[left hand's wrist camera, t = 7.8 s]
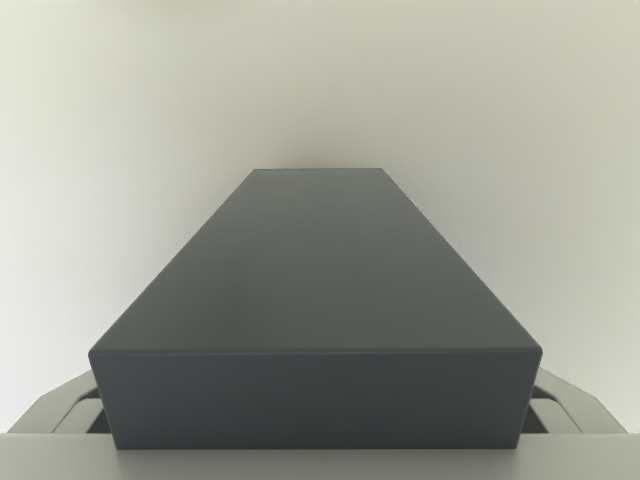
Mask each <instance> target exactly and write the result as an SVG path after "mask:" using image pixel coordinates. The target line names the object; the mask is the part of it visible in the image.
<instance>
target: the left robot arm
mask: <svg viewBox="0 0 640 480" xmlns="http://www.w3.org/2000/svg"><path fill="white" fill-rule="evenodd" d="M0 480H640V433H628V432H627V431H626V430H625V429H624V428H623V427H622V426H621V425H620V424H619V422H618V421H617V420H616V419H615V418H614V417H613V416H612V415H611V414H610V413H609V412H608V410H607V409H606V408H605V407H604V406H603V405H602V404H601V403H600V402H599V401H598V400H597V398H596V397H594V396H592V395H590V394H588V393H586V392H585V391H583V390H581V389H579V388H577V387H575V386H573V385H572V384H570V383H568V382H566V381H564V380H562V379H561V378H559V377H557V376H555V375H553V374H551V373H549V372H548V371H546V370H544V369H542V368H540V367H539V369H538V372H537V376H536V380H535V383H534V387H533V391H532V394H531V398H530V402H529V405H528V409H527V413H526V416H525V420H524V423H523V427H522V431H521V434H520V438H519V442H518V445H517V448H516V449H307V450H118V449H116V447H115V444H114V441H113V437H112V434H111V431H110V427H109V424H108V421H107V417H106V414H105V411H104V407H103V404H102V401H101V397H100V394H99V391H98V387H97V384H96V381H95V377H94V374H93V371H92V370H90V371H88V372H86V373H84V374H82V375H80V376H79V377H77V378H75V379H73V380H71V381H69V382H67V383H65V384H64V385H62V386H60V387H58V388H56V389H54V390H52V391H51V392H49V393H47V394H45V395H43V396H41V397H40V398H39V399H38V400H37V401H36V402H35V403H34V404H33V405H32V406H31V407H30V408H29V410H28V411H27V412H26V413H25V414H24V415H23V416H22V417H21V418H20V419H19V420H18V421H17V422H16V423H15V424H14V426H13V427H12V428H11V429H10V430H9V431H8V432H7V433H0Z"/></svg>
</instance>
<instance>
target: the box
mask: <svg viewBox="0 0 640 480" xmlns="http://www.w3.org/2000/svg"><path fill="white" fill-rule="evenodd" d="M542 354H543V352H542V348H541V347H540V345H539V344H538V343H537V342H536V341H535V340H534V339H533V338H532V337H531V335H530V334H529V333H528V332H527V331H526V330H525V329H524V328H523V326H522V325H521V324H520V323H519V322H518V321H517V320H516V319H515V317H514V316H513V315H512V314H511V313H510V312H509V311H508V310H507V308H506V307H505V306H504V305H503V304H502V303H501V302H500V301H499V299H498V298H497V297H496V296H495V295H494V294H493V293H492V292H491V290H490V289H489V288H488V287H487V286H486V285H485V284H484V283H483V281H482V280H481V279H480V278H479V277H478V276H477V275H476V274H475V272H474V271H473V270H472V269H471V268H470V267H469V266H468V265H467V264H466V262H465V261H464V260H463V259H462V258H461V257H460V256H459V255H458V253H457V252H456V251H455V250H454V249H453V248H452V247H451V246H450V244H449V243H448V242H447V241H446V240H445V239H444V238H443V237H442V235H441V234H440V233H439V232H438V231H437V230H436V229H435V228H434V226H433V225H432V224H431V223H430V222H429V221H428V220H427V219H426V217H425V216H424V215H423V214H422V213H421V212H420V211H419V210H418V208H417V207H416V206H415V205H414V204H413V203H412V202H411V201H410V199H409V198H408V197H407V196H406V195H405V194H404V193H403V192H402V190H401V189H400V188H399V187H398V186H397V185H396V184H395V183H394V182H393V180H392V179H391V178H390V177H389V176H388V175H387V174H386V173H385V171H384V170H383V169H381V168H357V169H254V170H253V171H252V172H251V173H250V175H249V176H248V177H247V178H246V179H245V180H244V181H243V182H242V183H241V184H240V186H239V187H238V188H237V189H236V190H235V191H234V192H233V193H232V194H231V195H230V197H229V198H228V199H227V200H226V201H225V202H224V203H223V204H222V205H221V206H220V207H219V209H218V210H217V211H216V212H215V213H214V214H213V215H212V216H211V217H210V218H209V220H208V221H207V222H206V223H205V224H204V225H203V226H202V227H201V228H200V229H199V231H198V232H197V233H196V234H195V235H194V236H193V237H192V238H191V239H190V240H189V242H188V243H187V244H186V245H185V246H184V247H183V248H182V249H181V250H180V251H179V253H178V254H177V255H176V256H175V257H174V258H173V259H172V260H171V261H170V262H169V264H168V265H167V266H166V267H165V268H164V269H163V270H162V271H161V272H160V273H159V275H158V276H157V277H156V278H155V279H154V280H153V281H152V282H151V283H150V284H149V286H148V287H147V288H146V289H145V290H144V291H143V292H142V293H141V294H140V295H139V297H138V298H137V299H136V300H135V301H134V302H133V303H132V304H131V305H130V306H129V308H128V309H127V310H126V311H125V312H124V313H123V314H122V315H121V316H120V317H119V318H118V320H117V321H116V322H115V323H114V324H113V325H112V326H111V327H110V328H109V329H108V331H107V332H106V333H105V334H104V335H103V336H102V337H101V338H100V339H99V340H98V342H97V343H96V344H95V345H94V346H93V347H92V348H91V349H90V350H89V353H88V357H89V361H90V364H91V367H92V371H93V374H94V377H95V381H96V384H97V387H98V391H99V394H100V397H101V401H102V404H103V407H104V411H105V414H106V417H107V421H108V424H109V427H110V431H111V434H112V437H113V441H114V444H115V447H116V449H118V450H307V449H516V448H517V445H518V442H519V438H520V434H521V431H522V427H523V423H524V420H525V416H526V413H527V409H528V405H529V402H530V398H531V394H532V391H533V387H534V383H535V380H536V376H537V372H538V369H539V365H540V361H541V358H542Z"/></svg>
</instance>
